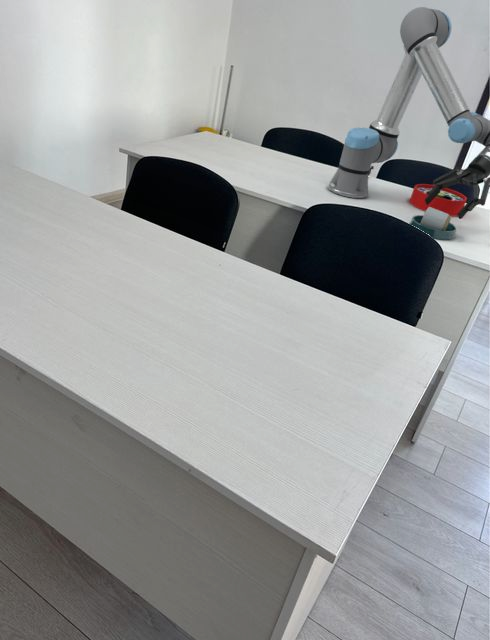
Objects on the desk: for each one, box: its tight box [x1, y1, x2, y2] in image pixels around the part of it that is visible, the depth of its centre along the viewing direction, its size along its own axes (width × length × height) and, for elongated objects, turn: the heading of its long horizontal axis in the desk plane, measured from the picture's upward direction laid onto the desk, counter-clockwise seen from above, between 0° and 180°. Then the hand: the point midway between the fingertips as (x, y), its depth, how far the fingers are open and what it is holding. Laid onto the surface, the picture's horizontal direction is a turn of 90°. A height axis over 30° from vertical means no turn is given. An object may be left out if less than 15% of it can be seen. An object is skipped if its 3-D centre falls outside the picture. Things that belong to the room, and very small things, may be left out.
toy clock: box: [409, 183, 468, 217], centre depth 226 cm, size 20×6×20 cm
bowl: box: [409, 214, 458, 241], centre depth 199 cm, size 15×15×3 cm
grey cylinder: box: [420, 207, 452, 231], centre depth 198 cm, size 11×8×8 cm
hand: (442, 209), depth 196 cm, fingers open, 13 cm apart
